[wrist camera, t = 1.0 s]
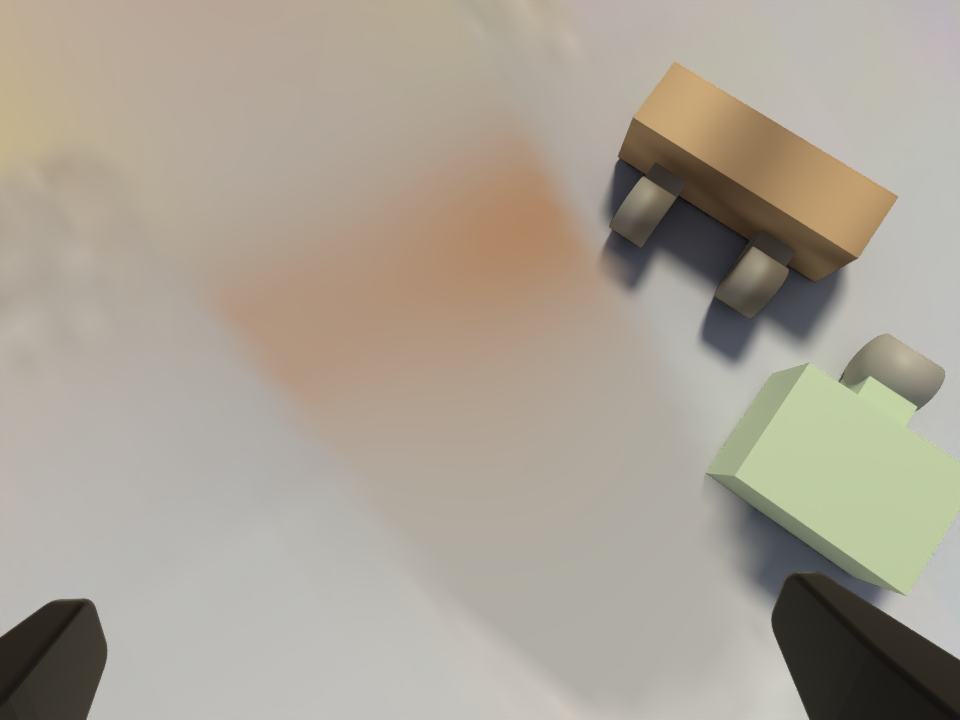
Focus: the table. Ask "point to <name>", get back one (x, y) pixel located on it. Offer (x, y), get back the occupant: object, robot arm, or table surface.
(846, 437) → the hinge leaf
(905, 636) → the robot arm
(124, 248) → the table surface
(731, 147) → the hinge base
